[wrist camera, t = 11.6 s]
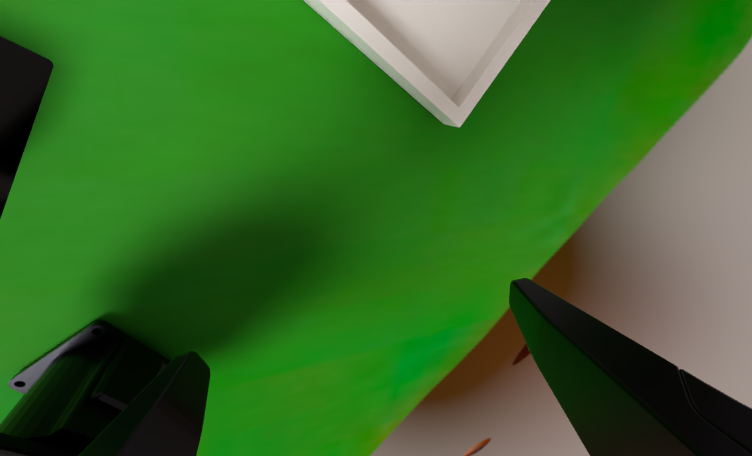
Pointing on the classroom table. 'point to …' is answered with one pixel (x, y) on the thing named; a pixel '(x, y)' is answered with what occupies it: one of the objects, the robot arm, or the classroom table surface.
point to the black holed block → (18, 106)
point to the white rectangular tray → (436, 44)
